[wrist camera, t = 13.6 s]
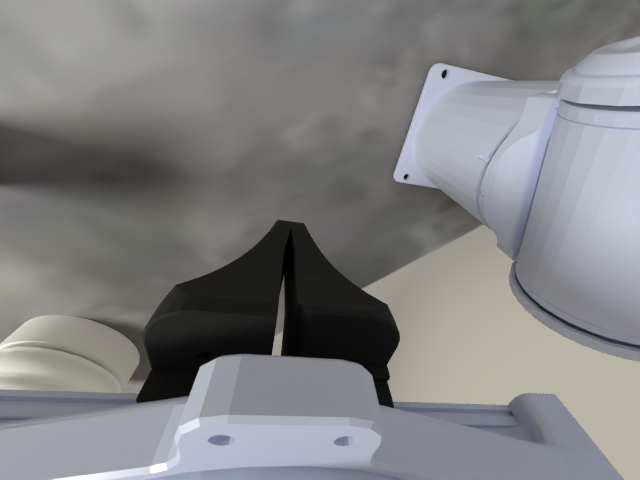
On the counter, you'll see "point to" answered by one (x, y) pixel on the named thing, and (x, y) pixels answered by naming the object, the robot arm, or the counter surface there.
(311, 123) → the counter surface
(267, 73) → the counter surface
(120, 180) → the counter surface
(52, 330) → the honey pot
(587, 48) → the counter surface
